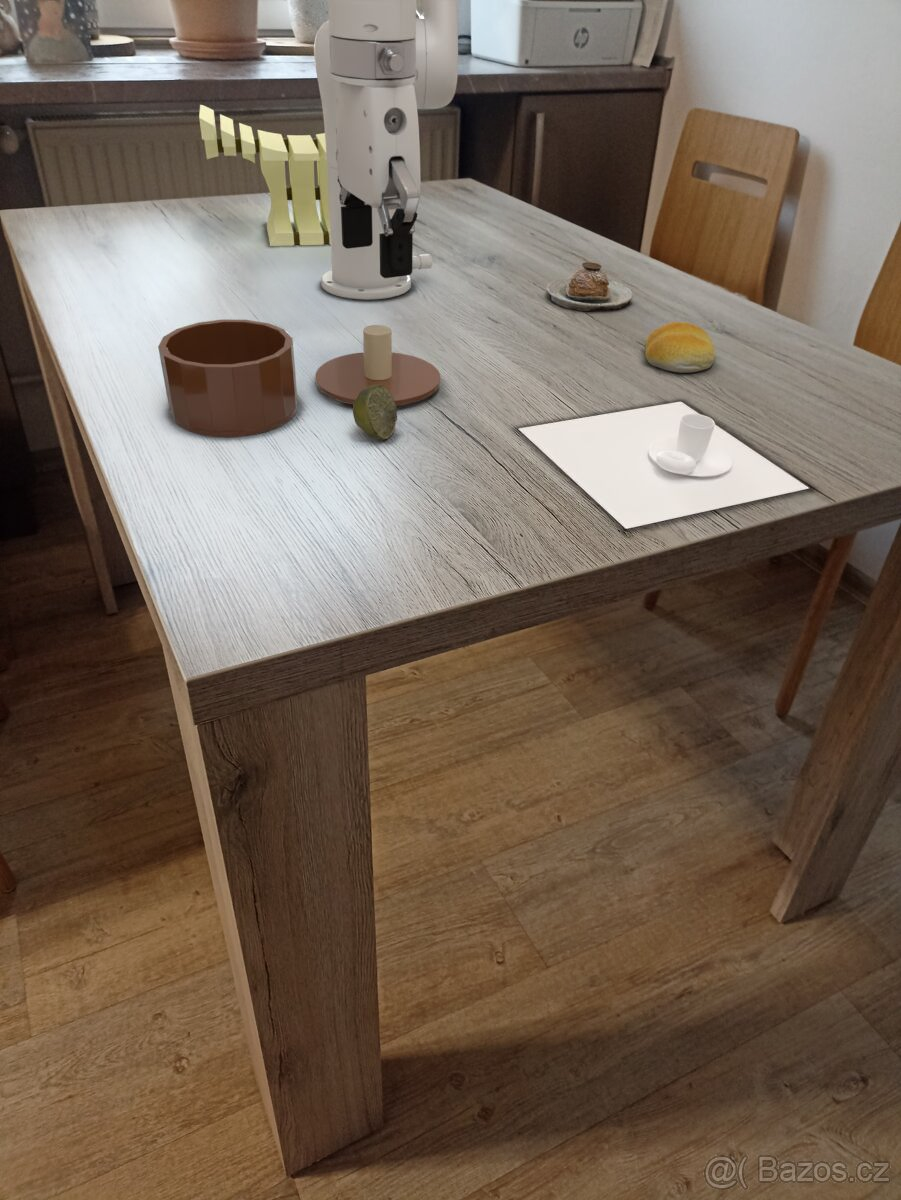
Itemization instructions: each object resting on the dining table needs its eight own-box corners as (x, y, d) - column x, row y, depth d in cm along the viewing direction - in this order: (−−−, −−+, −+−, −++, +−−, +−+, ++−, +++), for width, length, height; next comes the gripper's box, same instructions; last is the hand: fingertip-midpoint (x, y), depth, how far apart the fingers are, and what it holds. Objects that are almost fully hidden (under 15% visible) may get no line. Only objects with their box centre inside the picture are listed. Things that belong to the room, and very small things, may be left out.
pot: (275, 377, 94) (269, 313, 90) (314, 423, 86) (309, 355, 81) (159, 395, 89) (146, 328, 85) (188, 446, 81) (176, 375, 76)
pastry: (550, 281, 125) (554, 249, 122) (633, 289, 123) (638, 257, 121) (541, 307, 116) (544, 273, 113) (630, 317, 114) (635, 281, 111)
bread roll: (644, 371, 99) (650, 338, 97) (644, 344, 106) (649, 312, 104) (716, 379, 98) (724, 345, 96) (711, 351, 105) (718, 318, 103)
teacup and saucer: (672, 488, 77) (681, 448, 75) (624, 449, 83) (631, 411, 81) (749, 472, 80) (760, 433, 78) (698, 436, 86) (706, 398, 84)
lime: (395, 423, 86) (395, 376, 83) (401, 445, 82) (401, 396, 79) (351, 425, 86) (349, 377, 83) (355, 447, 82) (353, 398, 79)
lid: (408, 354, 101) (408, 302, 97) (461, 399, 91) (464, 342, 88) (298, 372, 96) (294, 317, 92) (343, 421, 86) (340, 362, 82)
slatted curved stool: (389, 218, 151) (388, 103, 140) (404, 243, 139) (405, 118, 128) (215, 221, 145) (200, 101, 135) (215, 247, 133) (199, 117, 122)
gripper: (455, 75, 71) (448, 283, 81) (373, 48, 82) (376, 233, 93) (372, 77, 68) (375, 293, 79) (299, 49, 80) (311, 240, 90)
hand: (376, 260), depth 86 cm, fingers open, 9 cm apart
